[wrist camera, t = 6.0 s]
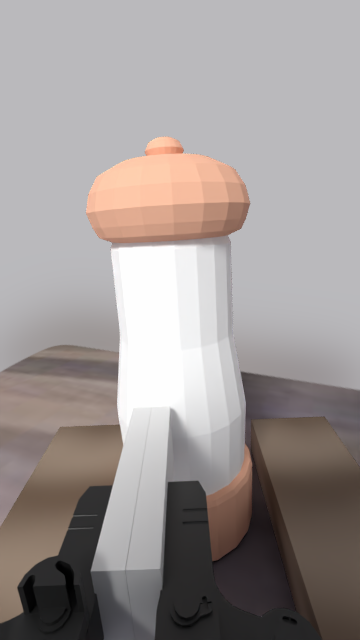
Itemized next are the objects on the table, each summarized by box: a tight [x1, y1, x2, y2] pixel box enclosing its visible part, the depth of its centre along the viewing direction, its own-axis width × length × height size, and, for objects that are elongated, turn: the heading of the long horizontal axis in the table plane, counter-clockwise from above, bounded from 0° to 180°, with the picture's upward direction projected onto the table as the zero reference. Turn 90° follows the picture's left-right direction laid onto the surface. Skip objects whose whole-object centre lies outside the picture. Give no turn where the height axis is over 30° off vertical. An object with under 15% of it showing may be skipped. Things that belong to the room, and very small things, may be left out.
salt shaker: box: [86, 137, 252, 561], centre depth 16 cm, size 7×7×19 cm
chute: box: [0, 417, 360, 640], centre depth 16 cm, size 13×18×2 cm
